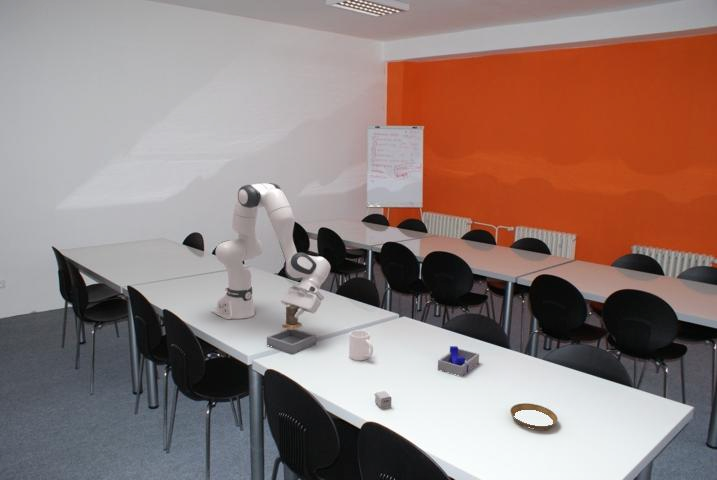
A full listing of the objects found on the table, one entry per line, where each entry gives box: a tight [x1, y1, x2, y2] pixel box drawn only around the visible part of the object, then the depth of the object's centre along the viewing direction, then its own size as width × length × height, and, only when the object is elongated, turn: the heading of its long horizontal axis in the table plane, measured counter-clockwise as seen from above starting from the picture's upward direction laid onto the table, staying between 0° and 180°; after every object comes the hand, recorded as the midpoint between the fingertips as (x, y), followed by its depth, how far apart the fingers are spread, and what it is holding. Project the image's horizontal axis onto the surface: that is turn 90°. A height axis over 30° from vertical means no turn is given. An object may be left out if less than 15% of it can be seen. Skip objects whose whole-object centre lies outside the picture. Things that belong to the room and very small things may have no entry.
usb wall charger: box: [374, 390, 393, 409], centre depth 184 cm, size 4×7×4 cm, turn 23°
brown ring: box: [509, 403, 558, 430], centre depth 176 cm, size 15×15×3 cm
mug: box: [348, 329, 374, 362], centre depth 221 cm, size 12×8×10 cm
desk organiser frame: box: [437, 348, 480, 377], centre depth 216 cm, size 10×17×4 cm, turn 144°
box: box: [266, 328, 317, 355], centre depth 234 cm, size 15×15×4 cm
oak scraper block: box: [281, 305, 303, 330], centre depth 232 cm, size 6×6×9 cm
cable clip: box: [449, 345, 469, 373], centre depth 216 cm, size 12×4×6 cm, turn 5°
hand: (290, 316), depth 232 cm, fingers closed on oak scraper block, 4 cm apart
